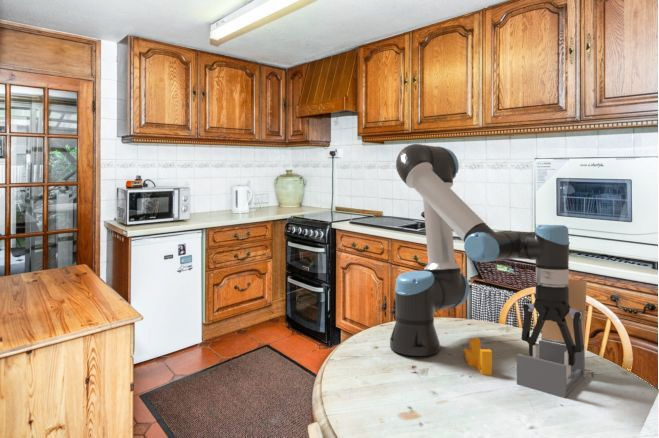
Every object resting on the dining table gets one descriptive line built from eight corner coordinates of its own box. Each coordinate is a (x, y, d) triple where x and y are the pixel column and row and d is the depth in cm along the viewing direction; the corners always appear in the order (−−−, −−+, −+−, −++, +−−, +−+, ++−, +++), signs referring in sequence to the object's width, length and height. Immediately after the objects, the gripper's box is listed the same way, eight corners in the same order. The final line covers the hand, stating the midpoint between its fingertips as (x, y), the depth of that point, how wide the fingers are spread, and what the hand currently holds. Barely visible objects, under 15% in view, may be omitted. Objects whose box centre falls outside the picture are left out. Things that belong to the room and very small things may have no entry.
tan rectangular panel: (544, 276, 117) (545, 276, 117) (541, 340, 115) (542, 339, 116) (586, 280, 109) (586, 280, 110) (583, 348, 108) (584, 348, 108)
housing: (516, 384, 104) (516, 354, 103) (539, 366, 115) (540, 340, 115) (565, 397, 96) (565, 366, 96) (584, 377, 108) (584, 349, 108)
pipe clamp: (463, 359, 122) (463, 337, 122) (478, 359, 121) (478, 338, 121) (475, 375, 110) (475, 351, 110) (491, 375, 109) (492, 351, 109)
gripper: (507, 281, 110) (506, 366, 110) (592, 291, 96) (591, 389, 96) (518, 278, 115) (517, 359, 115) (600, 287, 101) (599, 379, 101)
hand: (551, 372), depth 106 cm, fingers closed on housing, 7 cm apart
